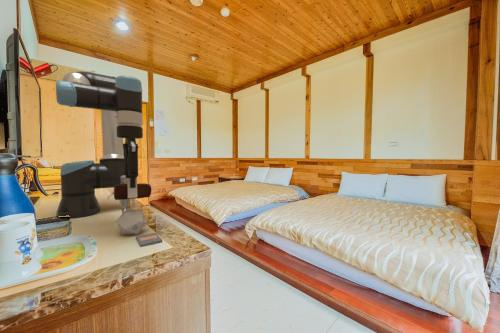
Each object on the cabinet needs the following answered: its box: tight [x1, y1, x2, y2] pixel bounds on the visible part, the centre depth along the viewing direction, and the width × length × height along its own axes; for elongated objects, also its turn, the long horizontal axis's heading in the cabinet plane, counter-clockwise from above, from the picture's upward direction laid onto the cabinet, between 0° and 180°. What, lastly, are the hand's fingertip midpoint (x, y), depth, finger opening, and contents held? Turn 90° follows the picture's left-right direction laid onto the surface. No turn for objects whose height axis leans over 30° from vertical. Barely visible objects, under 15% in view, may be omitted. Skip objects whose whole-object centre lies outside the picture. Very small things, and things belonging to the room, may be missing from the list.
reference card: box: [135, 232, 163, 248], centre depth 68 cm, size 8×6×1 cm
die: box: [115, 208, 148, 235], centre depth 74 cm, size 8×9×10 cm
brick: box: [113, 183, 152, 201], centre depth 74 cm, size 11×4×5 cm, turn 127°
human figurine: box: [106, 176, 131, 215], centre depth 87 cm, size 12×4×18 cm, turn 123°
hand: (131, 196), depth 73 cm, fingers closed on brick, 4 cm apart
